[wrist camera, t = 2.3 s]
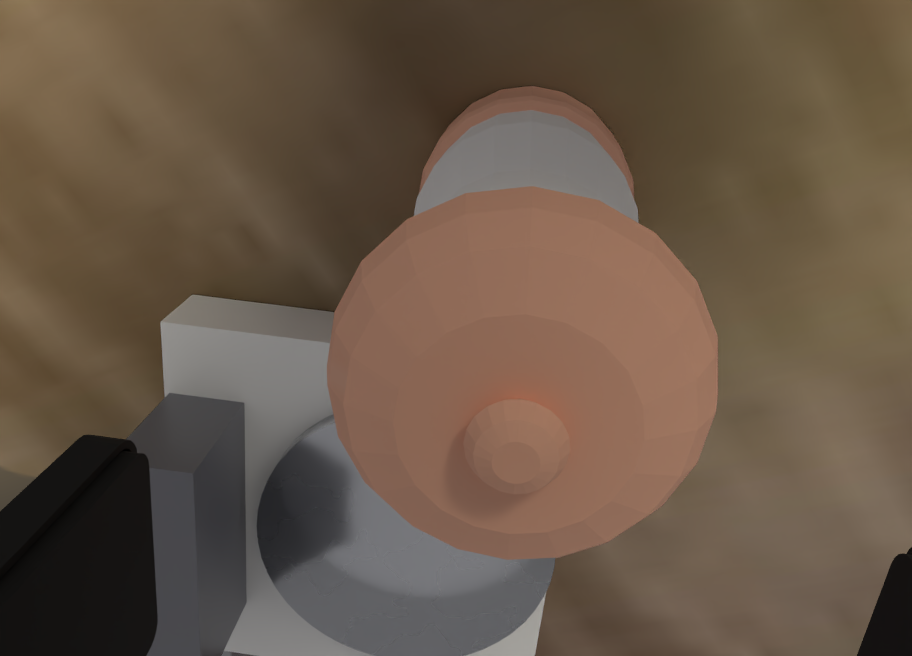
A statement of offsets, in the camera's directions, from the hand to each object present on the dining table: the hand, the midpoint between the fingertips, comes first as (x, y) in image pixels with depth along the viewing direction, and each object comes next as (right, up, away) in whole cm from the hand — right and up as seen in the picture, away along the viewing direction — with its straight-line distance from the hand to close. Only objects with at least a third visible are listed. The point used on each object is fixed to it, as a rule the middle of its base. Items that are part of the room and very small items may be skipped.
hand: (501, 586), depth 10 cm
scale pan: (-3, -5, +22) cm, 23 cm away
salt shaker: (+2, +9, +20) cm, 22 cm away
